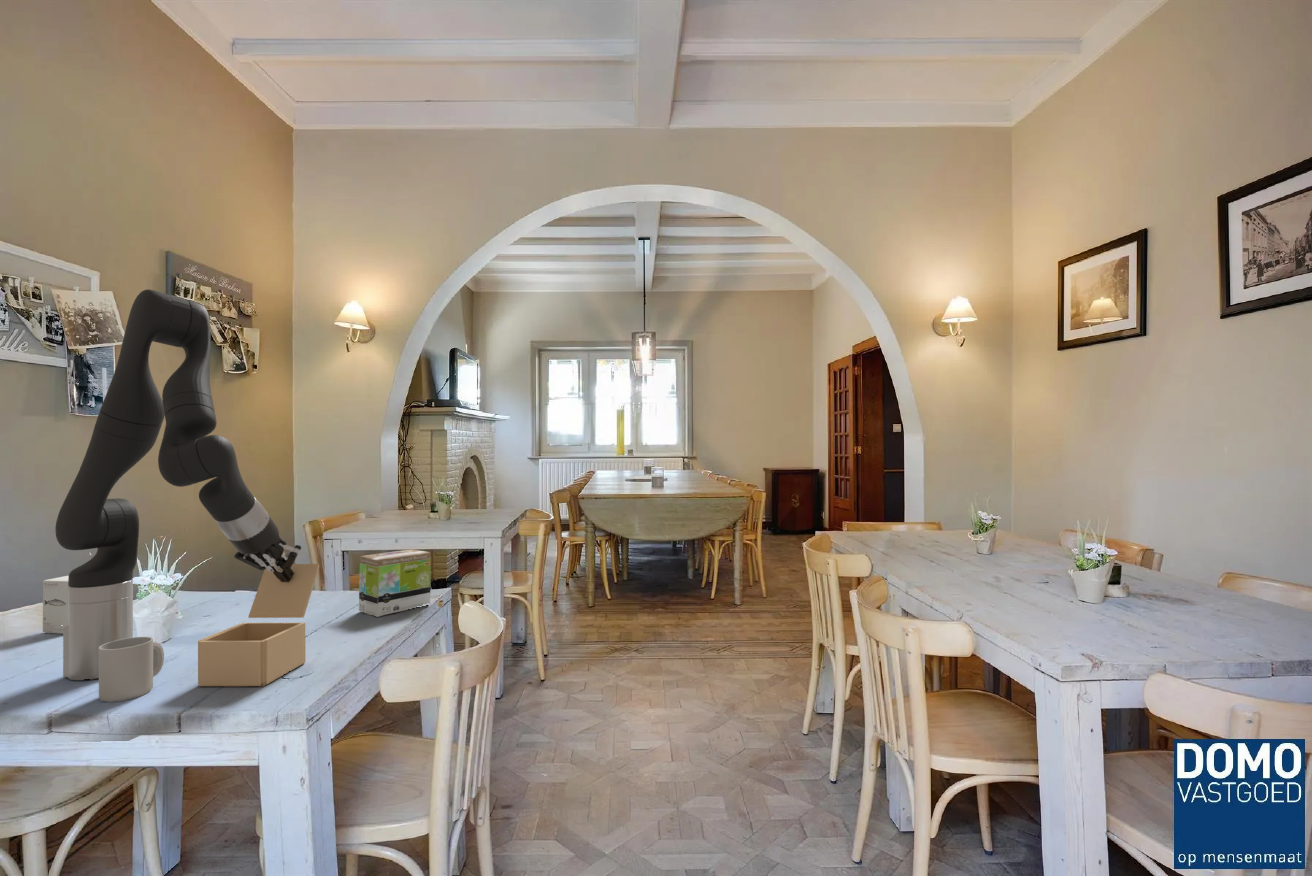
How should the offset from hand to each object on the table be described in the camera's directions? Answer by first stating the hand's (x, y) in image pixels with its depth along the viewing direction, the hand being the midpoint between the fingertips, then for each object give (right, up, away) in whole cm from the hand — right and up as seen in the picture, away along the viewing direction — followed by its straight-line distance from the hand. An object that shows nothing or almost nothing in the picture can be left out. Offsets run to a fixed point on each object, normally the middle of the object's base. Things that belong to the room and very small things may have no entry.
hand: (287, 578), depth 125 cm
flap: (0, -7, -4) cm, 8 cm away
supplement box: (-65, -18, +21) cm, 71 cm away
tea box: (+7, -17, +37) cm, 41 cm away
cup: (-17, -16, -17) cm, 29 cm away
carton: (0, -16, -10) cm, 19 cm away
